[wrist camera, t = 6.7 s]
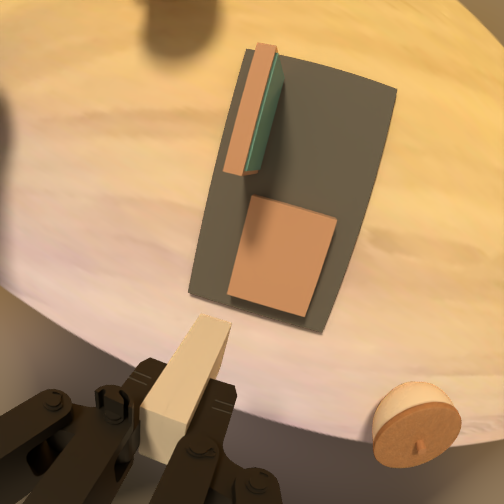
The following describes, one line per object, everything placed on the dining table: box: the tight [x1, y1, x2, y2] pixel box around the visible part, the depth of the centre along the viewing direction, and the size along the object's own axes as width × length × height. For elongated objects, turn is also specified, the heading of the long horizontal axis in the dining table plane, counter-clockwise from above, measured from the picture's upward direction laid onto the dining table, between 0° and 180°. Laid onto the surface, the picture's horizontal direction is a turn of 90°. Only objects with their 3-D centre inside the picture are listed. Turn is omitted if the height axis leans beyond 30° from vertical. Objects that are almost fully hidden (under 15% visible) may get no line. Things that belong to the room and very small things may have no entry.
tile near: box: [223, 43, 285, 176], centre depth 25 cm, size 2×10×8 cm, turn 165°
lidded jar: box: [372, 382, 462, 468], centre depth 30 cm, size 11×11×9 cm
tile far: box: [227, 194, 337, 317], centre depth 31 cm, size 2×10×8 cm
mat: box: [188, 49, 397, 332], centre depth 30 cm, size 15×26×1 cm, turn 166°
